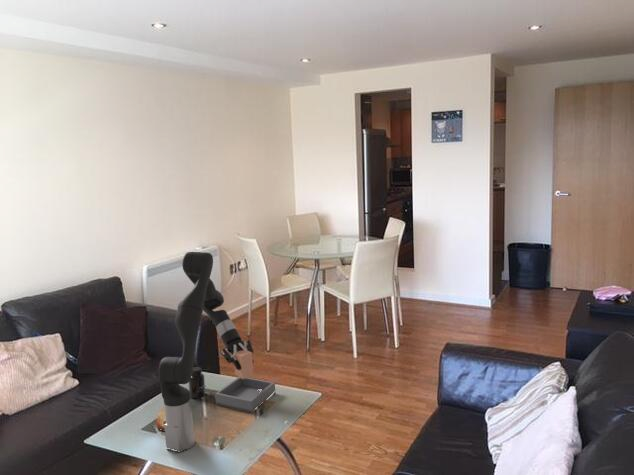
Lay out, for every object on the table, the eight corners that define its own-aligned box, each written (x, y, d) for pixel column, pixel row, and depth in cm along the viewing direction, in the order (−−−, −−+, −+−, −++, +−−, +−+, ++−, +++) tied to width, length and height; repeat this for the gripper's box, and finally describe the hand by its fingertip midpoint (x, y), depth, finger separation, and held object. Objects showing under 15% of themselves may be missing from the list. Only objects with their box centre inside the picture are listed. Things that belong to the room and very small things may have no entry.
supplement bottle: (203, 398, 225) (201, 372, 222) (187, 399, 225) (185, 372, 223) (207, 391, 231) (205, 365, 229) (191, 391, 231) (189, 366, 229)
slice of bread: (176, 402, 223) (175, 394, 222) (203, 415, 211) (202, 406, 211) (138, 421, 209) (137, 412, 208) (165, 435, 198) (165, 425, 197)
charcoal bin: (251, 413, 210) (251, 401, 210) (215, 404, 219) (215, 393, 218) (275, 393, 226) (274, 382, 225) (241, 386, 234) (240, 376, 233)
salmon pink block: (253, 374, 220) (251, 352, 219) (242, 379, 217) (241, 356, 215) (245, 371, 224) (244, 349, 223) (235, 375, 221) (233, 352, 219)
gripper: (216, 333, 218) (235, 368, 211) (245, 324, 227) (263, 357, 221) (210, 342, 223) (228, 376, 216) (238, 332, 232) (256, 365, 226)
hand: (246, 366), depth 219 cm, fingers closed on salmon pink block, 5 cm apart
